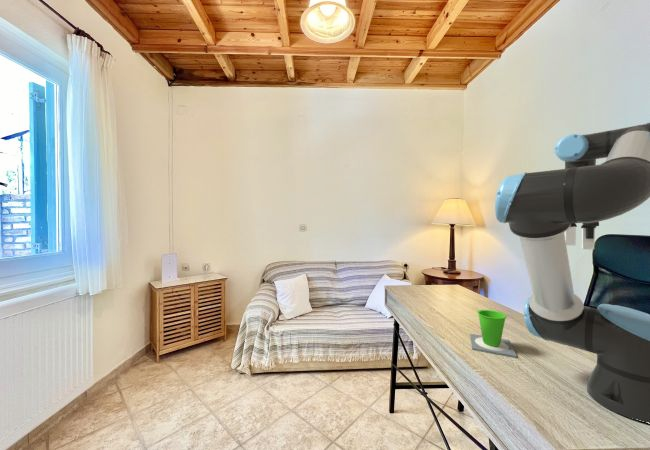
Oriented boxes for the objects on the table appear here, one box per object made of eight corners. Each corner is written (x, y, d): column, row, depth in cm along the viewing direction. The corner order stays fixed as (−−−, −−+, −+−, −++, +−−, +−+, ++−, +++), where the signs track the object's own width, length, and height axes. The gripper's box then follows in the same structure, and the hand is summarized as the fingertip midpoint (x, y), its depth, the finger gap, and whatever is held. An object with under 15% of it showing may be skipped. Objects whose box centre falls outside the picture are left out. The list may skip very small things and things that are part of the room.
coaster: (516, 357, 88) (516, 355, 88) (472, 349, 94) (472, 347, 94) (509, 341, 100) (509, 339, 100) (469, 335, 105) (469, 333, 105)
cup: (511, 350, 91) (511, 319, 91) (482, 348, 93) (482, 317, 93) (499, 339, 100) (500, 310, 100) (473, 337, 102) (473, 308, 102)
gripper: (616, 177, 75) (614, 251, 76) (578, 186, 98) (577, 244, 98) (581, 179, 78) (580, 250, 79) (552, 187, 101) (551, 243, 102)
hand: (578, 247), depth 89 cm, fingers open, 13 cm apart
